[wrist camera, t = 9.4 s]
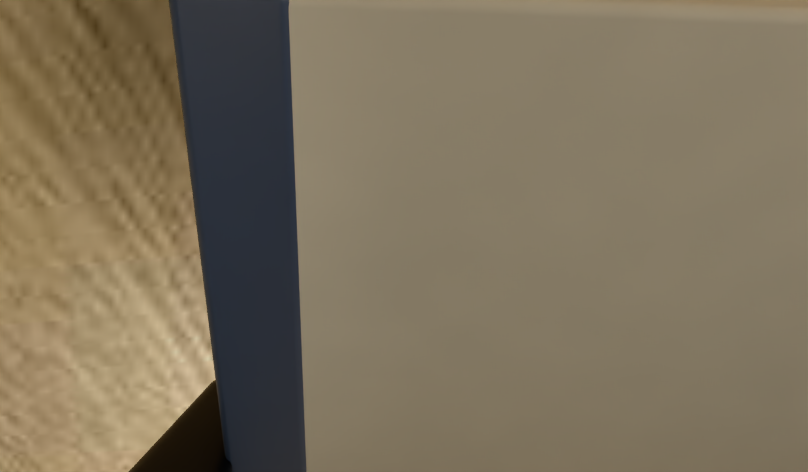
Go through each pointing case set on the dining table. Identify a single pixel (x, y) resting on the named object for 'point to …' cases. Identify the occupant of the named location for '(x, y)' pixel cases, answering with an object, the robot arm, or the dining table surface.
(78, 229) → the dining table surface
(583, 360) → the white book
